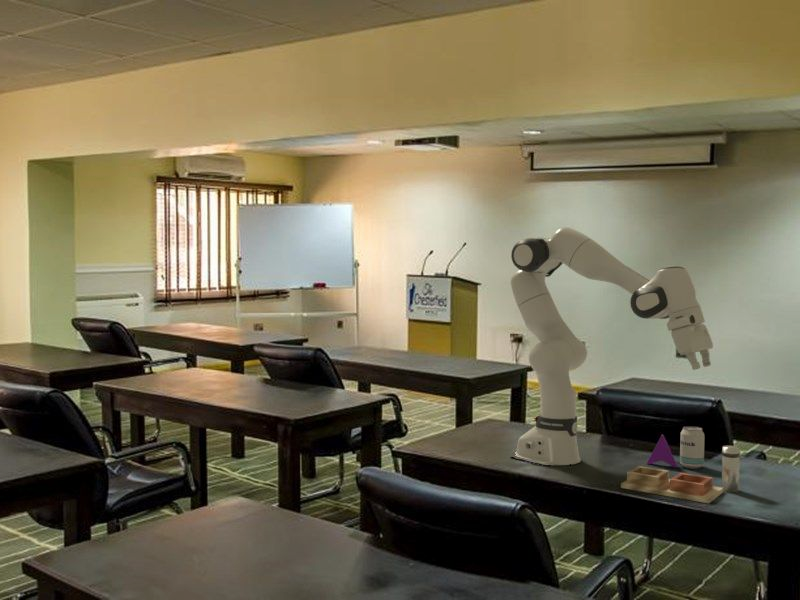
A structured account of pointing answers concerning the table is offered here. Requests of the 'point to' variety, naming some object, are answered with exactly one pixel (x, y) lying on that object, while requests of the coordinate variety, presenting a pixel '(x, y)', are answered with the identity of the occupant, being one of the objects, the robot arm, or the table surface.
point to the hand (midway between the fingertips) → (702, 367)
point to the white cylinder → (730, 468)
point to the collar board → (672, 484)
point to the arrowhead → (662, 453)
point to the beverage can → (692, 447)
